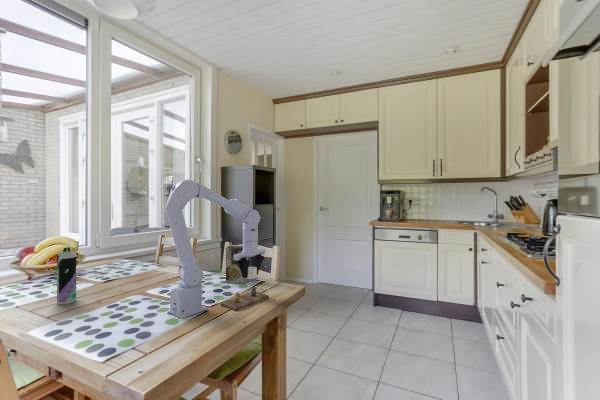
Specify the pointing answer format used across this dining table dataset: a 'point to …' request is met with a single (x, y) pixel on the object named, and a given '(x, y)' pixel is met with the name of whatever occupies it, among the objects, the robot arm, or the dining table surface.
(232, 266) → the coffee box
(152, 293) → the dining table surface
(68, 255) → the black purple carton
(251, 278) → the sleeve
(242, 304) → the pin board
